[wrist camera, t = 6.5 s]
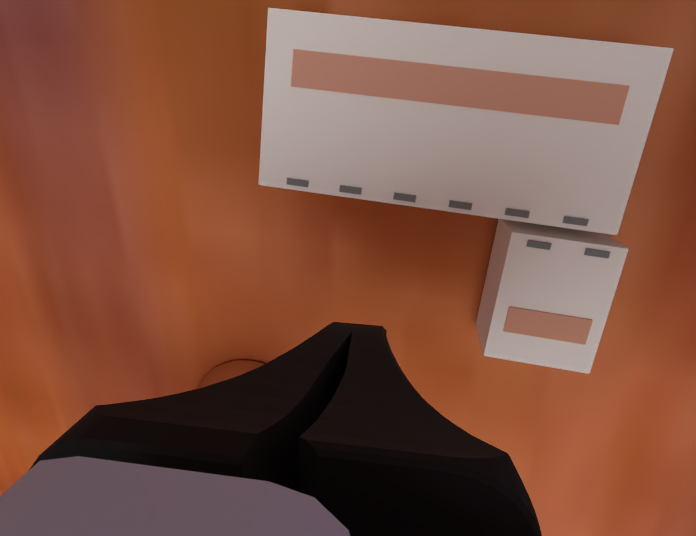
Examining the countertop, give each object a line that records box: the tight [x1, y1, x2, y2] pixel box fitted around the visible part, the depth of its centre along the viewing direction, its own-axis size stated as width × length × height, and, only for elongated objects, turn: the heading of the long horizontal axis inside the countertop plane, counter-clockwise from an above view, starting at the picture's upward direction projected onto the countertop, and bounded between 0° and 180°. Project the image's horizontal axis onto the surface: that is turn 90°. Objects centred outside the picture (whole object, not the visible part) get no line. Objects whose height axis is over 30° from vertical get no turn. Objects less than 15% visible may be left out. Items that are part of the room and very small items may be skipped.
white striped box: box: [259, 8, 674, 235], centre depth 18 cm, size 13×6×3 cm, turn 84°
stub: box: [476, 219, 629, 374], centre depth 19 cm, size 4×5×3 cm
